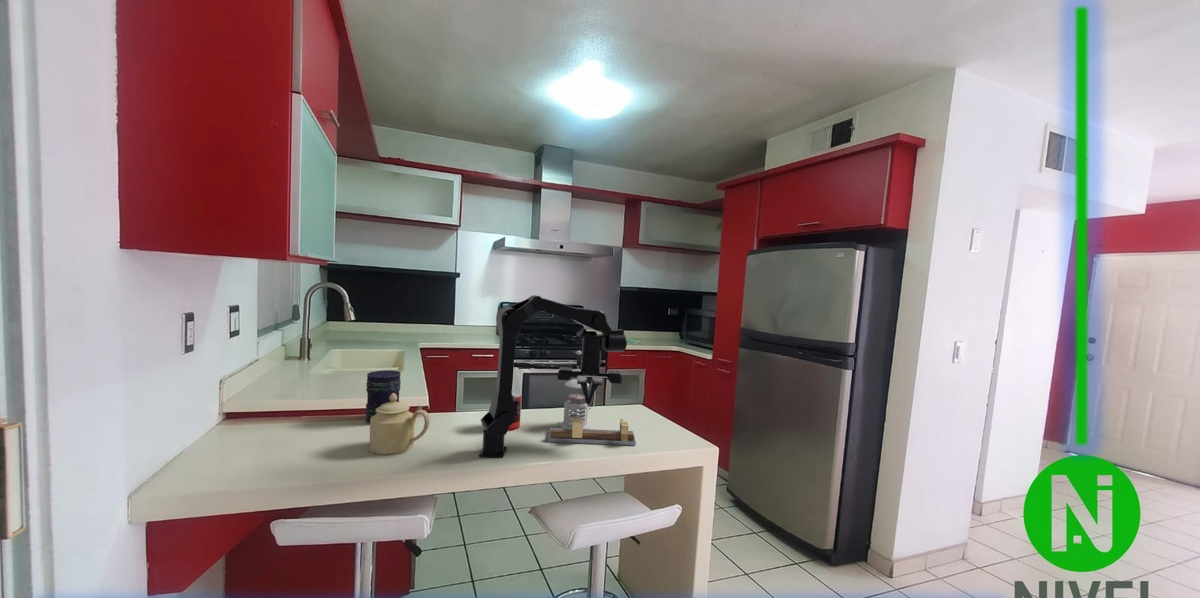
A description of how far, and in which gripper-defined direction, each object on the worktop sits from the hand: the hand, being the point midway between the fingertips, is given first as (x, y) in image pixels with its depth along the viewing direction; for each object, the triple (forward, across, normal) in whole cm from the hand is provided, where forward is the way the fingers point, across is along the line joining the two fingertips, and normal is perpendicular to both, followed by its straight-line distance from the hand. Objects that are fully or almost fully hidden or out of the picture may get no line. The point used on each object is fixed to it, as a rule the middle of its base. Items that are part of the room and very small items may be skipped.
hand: (587, 403), depth 132 cm
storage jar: (+13, +65, -12) cm, 68 cm away
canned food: (+12, +25, -10) cm, 30 cm away
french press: (+12, +3, -15) cm, 19 cm away
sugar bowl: (+13, +51, +9) cm, 53 cm away
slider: (+10, +3, -2) cm, 10 cm away
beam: (+10, -2, -2) cm, 11 cm away
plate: (+11, -2, -3) cm, 12 cm away
